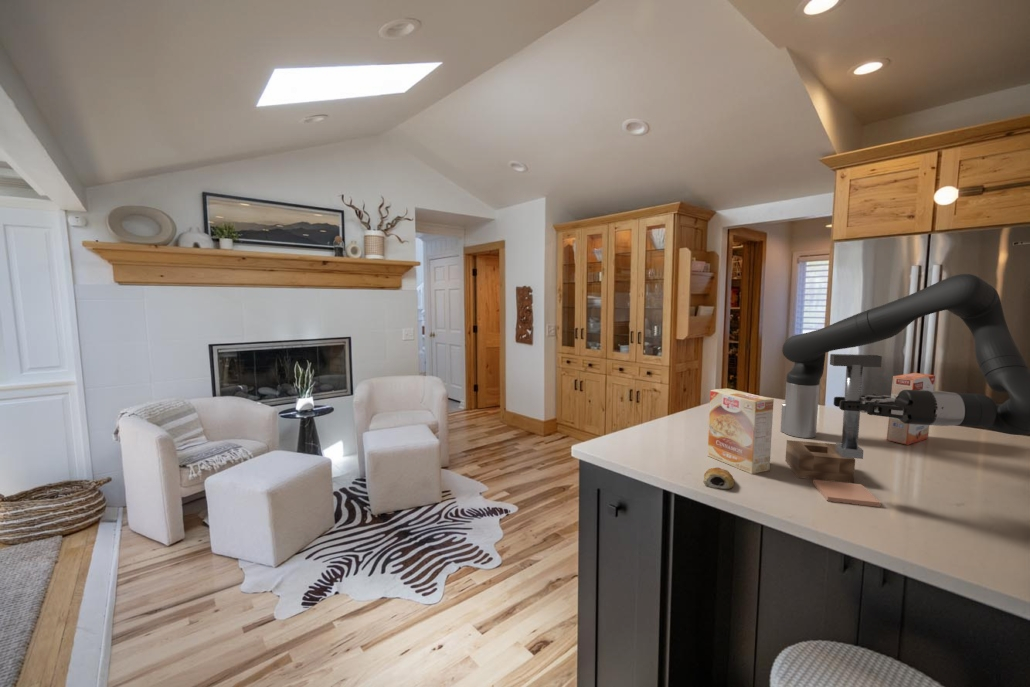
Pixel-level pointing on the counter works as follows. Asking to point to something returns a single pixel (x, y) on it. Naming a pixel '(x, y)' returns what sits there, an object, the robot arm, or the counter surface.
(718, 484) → the pastry
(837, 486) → the pad
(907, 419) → the robot arm
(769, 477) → the counter surface
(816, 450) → the block
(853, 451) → the key
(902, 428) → the cracker box
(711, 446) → the coffeecake box
